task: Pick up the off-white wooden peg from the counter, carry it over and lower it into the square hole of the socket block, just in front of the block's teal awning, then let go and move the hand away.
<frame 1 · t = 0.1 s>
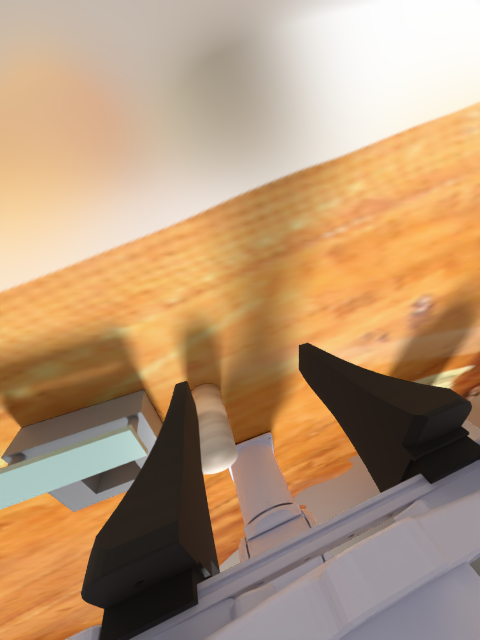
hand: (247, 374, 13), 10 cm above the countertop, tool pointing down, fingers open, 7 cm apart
peg: (205, 396, 26), on the countertop
socket block: (111, 440, 25), on the countertop
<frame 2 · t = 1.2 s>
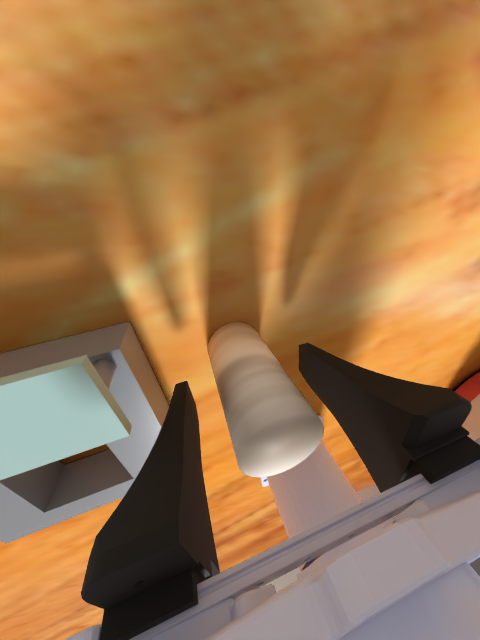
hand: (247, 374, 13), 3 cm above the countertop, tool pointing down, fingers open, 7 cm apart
peg: (234, 345, 16), on the countertop
citrus juicer: (464, 391, 32), on the countertop
socket block: (74, 417, 15), on the countertop
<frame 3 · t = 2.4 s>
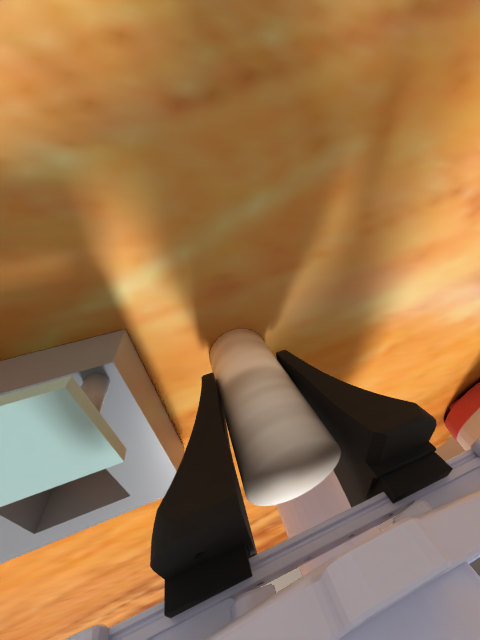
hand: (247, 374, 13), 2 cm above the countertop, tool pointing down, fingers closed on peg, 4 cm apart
peg: (237, 353, 15), on the countertop, touching gripper
citrus juicer: (472, 395, 32), on the countertop
socket block: (66, 431, 14), on the countertop
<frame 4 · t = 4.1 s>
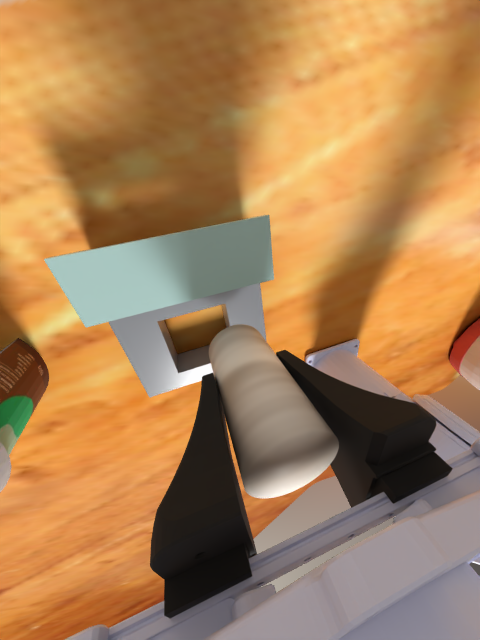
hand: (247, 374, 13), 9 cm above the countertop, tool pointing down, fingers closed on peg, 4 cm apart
food container: (15, 388, 19), on the countertop
peg: (236, 349, 15), point 7 cm above the countertop, touching gripper
citrus juicer: (472, 336, 38), on the countertop
socket block: (193, 311, 20), on the countertop
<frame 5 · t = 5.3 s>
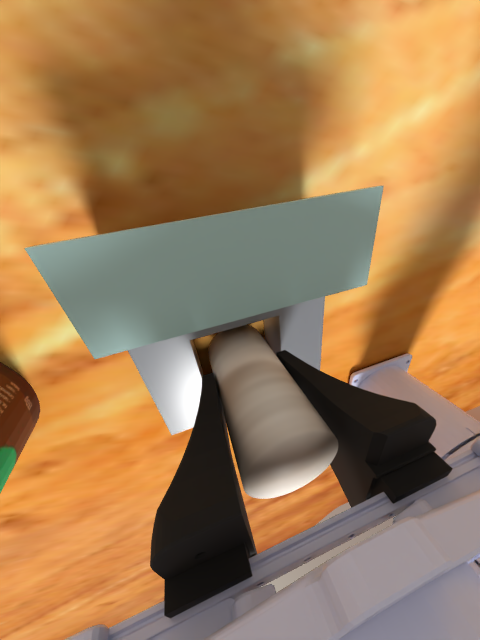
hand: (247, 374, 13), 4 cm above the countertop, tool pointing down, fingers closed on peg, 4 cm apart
peg: (236, 349, 15), point 2 cm above the countertop, touching gripper
socket block: (227, 322, 16), on the countertop
when the fingers open (4 cm above the countertop, at t = 6.2 s): peg drops 2 cm, resting in socket block.
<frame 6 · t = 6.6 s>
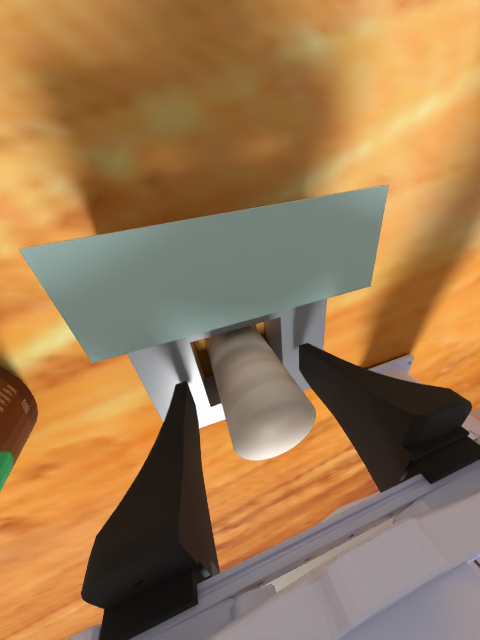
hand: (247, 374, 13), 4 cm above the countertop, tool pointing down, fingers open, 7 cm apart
peg: (231, 338, 16), resting in socket block
socket block: (228, 324, 15), on the countertop
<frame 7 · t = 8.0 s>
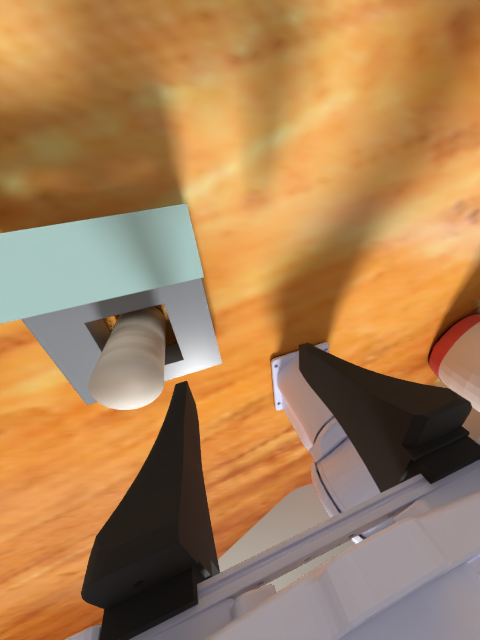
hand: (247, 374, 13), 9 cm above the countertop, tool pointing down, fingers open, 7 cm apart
peg: (142, 323, 19), resting in socket block
citrus juicer: (452, 339, 37), on the countertop
socket block: (137, 311, 19), on the countertop
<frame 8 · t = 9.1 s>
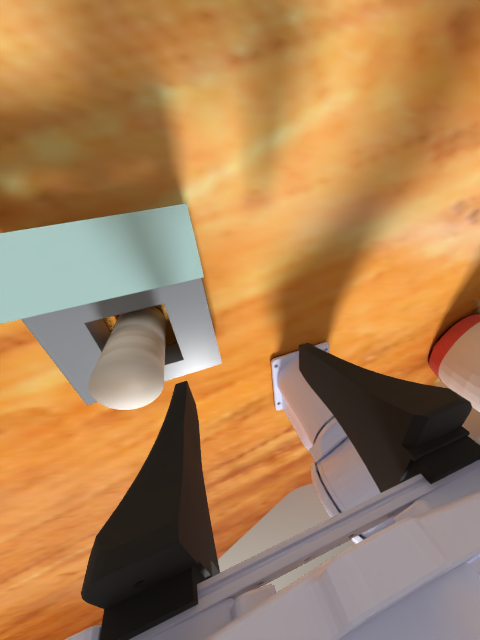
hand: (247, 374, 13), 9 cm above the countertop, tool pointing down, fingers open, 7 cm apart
peg: (142, 323, 19), resting in socket block
citrus juicer: (452, 339, 37), on the countertop
socket block: (137, 311, 19), on the countertop
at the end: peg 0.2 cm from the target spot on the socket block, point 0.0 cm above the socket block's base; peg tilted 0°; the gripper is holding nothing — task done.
